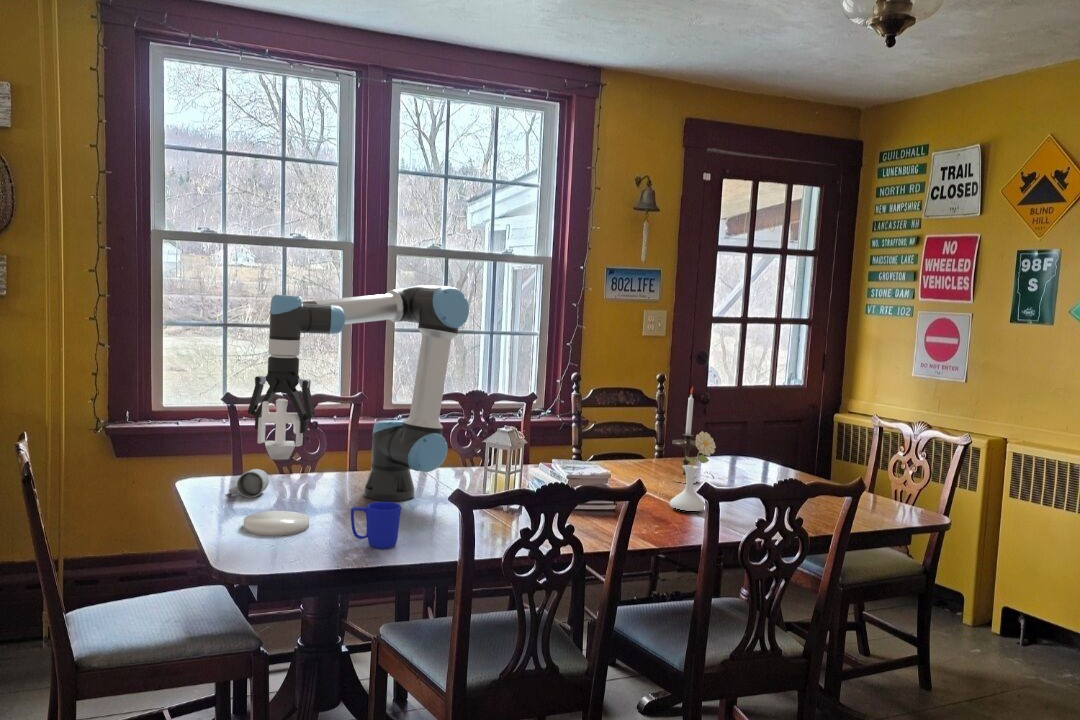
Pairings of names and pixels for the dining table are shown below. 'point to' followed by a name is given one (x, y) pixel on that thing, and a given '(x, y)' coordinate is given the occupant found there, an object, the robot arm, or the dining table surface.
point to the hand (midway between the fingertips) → (280, 444)
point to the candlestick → (687, 432)
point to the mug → (380, 523)
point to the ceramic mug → (251, 483)
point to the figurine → (279, 429)
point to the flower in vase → (688, 496)
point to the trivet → (276, 523)
